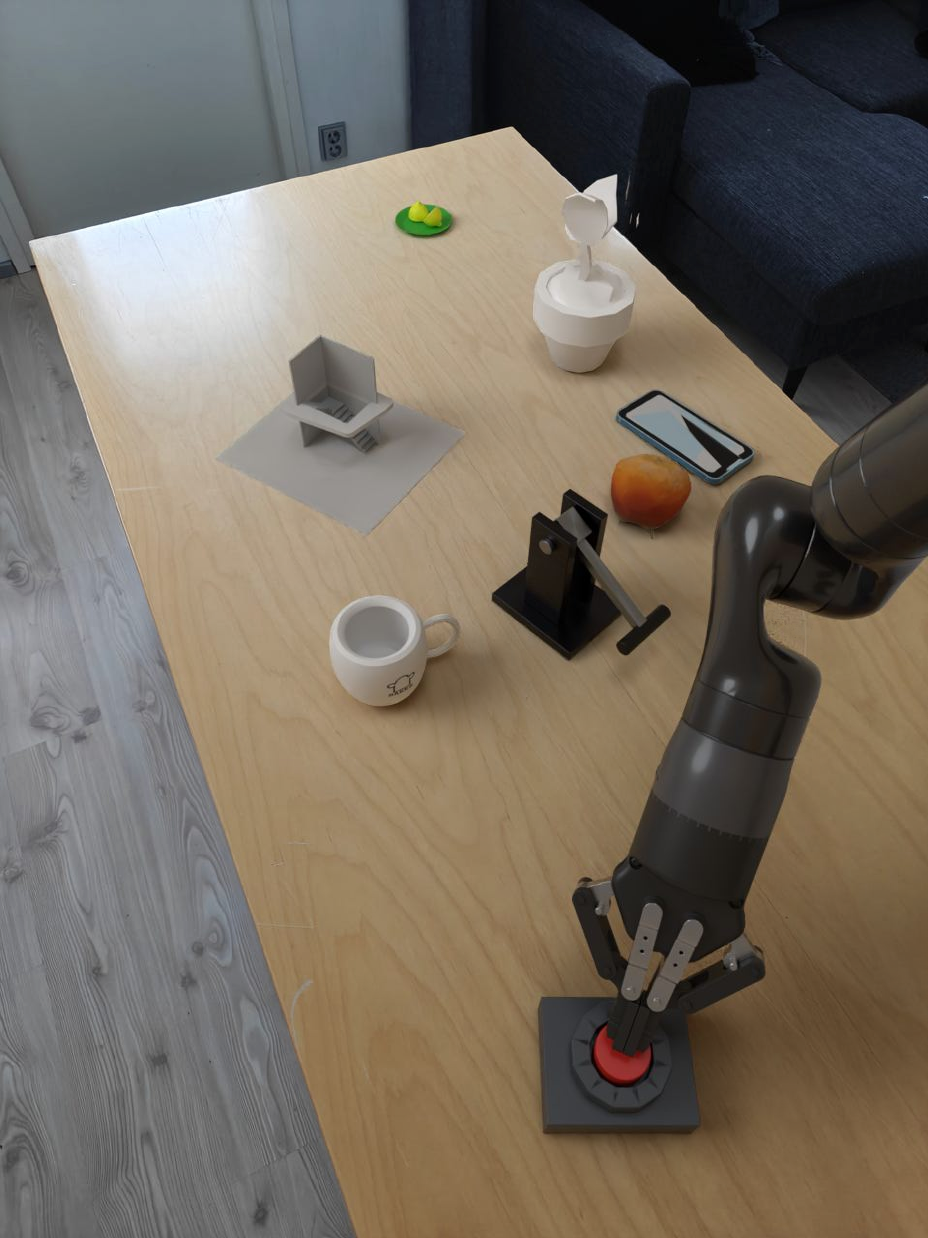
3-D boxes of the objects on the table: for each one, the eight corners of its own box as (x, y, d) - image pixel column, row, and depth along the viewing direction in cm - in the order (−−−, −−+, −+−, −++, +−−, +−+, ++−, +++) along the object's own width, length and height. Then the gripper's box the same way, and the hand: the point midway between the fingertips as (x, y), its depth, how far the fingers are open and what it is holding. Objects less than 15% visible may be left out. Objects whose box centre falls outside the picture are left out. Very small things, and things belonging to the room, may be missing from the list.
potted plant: (600, 400, 108) (633, 192, 88) (512, 368, 111) (525, 161, 92) (643, 343, 115) (683, 137, 95) (558, 314, 118) (580, 110, 98)
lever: (662, 620, 84) (677, 613, 81) (620, 658, 81) (634, 652, 79) (574, 504, 83) (587, 494, 81) (529, 539, 81) (541, 530, 78)
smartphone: (656, 386, 108) (758, 451, 101) (655, 393, 109) (756, 458, 102) (612, 413, 105) (715, 482, 98) (611, 420, 106) (713, 488, 99)
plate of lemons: (461, 215, 132) (461, 196, 130) (437, 244, 128) (437, 224, 125) (410, 203, 134) (410, 184, 132) (385, 230, 130) (384, 211, 127)
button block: (675, 1009, 67) (688, 990, 63) (691, 1134, 62) (707, 1121, 58) (537, 1008, 67) (542, 989, 63) (543, 1133, 62) (549, 1121, 58)
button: (641, 1030, 63) (647, 1021, 61) (647, 1088, 61) (654, 1080, 59) (589, 1030, 63) (593, 1020, 61) (593, 1088, 61) (598, 1080, 59)
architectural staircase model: (366, 536, 95) (356, 451, 86) (214, 458, 102) (190, 372, 92) (466, 432, 105) (467, 346, 95) (322, 367, 111) (310, 281, 102)
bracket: (623, 613, 89) (645, 521, 79) (568, 661, 86) (584, 572, 76) (546, 557, 93) (557, 463, 83) (491, 600, 90) (495, 508, 80)
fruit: (592, 530, 94) (613, 453, 91) (606, 513, 101) (625, 441, 98) (670, 552, 92) (694, 475, 89) (678, 533, 99) (700, 461, 96)
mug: (355, 733, 81) (346, 684, 75) (322, 660, 86) (312, 608, 79) (479, 685, 84) (481, 634, 78) (441, 617, 89) (440, 564, 82)
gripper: (602, 780, 55) (515, 1034, 58) (827, 865, 52) (723, 1128, 55) (616, 752, 62) (538, 979, 65) (814, 825, 59) (723, 1059, 62)
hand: (623, 1047), depth 60 cm, fingers closed
